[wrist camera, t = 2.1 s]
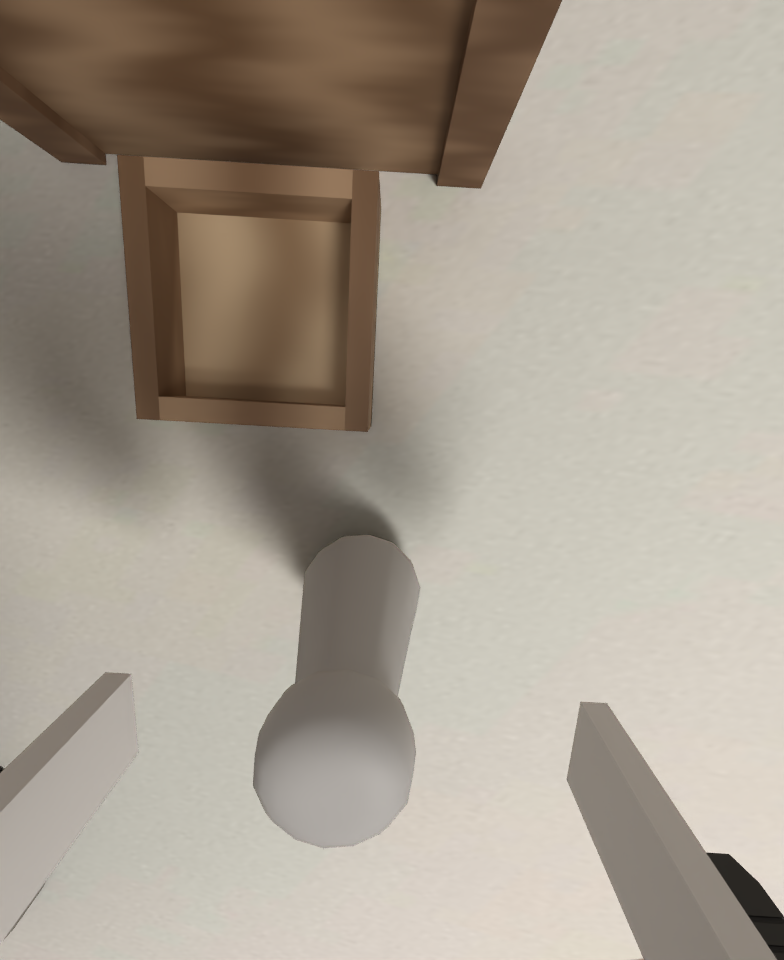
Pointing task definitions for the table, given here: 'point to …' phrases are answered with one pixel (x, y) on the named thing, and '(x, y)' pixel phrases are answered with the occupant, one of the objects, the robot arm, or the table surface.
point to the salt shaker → (344, 700)
